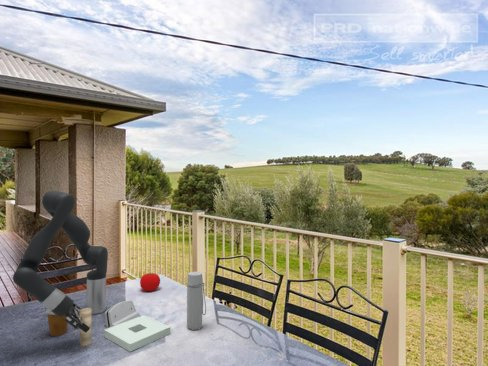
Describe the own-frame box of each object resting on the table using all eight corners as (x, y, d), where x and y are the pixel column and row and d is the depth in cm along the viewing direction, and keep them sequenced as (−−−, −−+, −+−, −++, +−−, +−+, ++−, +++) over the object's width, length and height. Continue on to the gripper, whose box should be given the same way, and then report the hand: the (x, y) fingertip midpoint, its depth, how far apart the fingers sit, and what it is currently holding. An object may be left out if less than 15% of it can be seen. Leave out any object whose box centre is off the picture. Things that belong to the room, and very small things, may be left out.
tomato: (136, 292, 198) (136, 275, 198) (145, 286, 210) (145, 270, 210) (154, 293, 196) (154, 276, 196) (162, 287, 208) (162, 271, 208)
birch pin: (77, 344, 136) (77, 310, 136) (88, 340, 139) (88, 307, 139) (82, 347, 133) (82, 313, 133) (93, 343, 136) (93, 309, 136)
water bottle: (189, 332, 147) (189, 276, 147) (184, 325, 154) (184, 272, 153) (208, 328, 151) (209, 274, 151) (202, 321, 158) (203, 269, 158)
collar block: (104, 336, 142) (104, 329, 142) (143, 321, 158) (143, 315, 158) (130, 351, 130) (130, 344, 130) (170, 333, 145) (170, 326, 145)
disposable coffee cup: (75, 329, 149) (75, 303, 148) (57, 339, 140) (57, 311, 139) (59, 326, 152) (59, 300, 152) (40, 335, 143) (40, 308, 143)
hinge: (114, 330, 149) (108, 308, 150) (107, 331, 150) (101, 310, 152) (139, 316, 164) (134, 296, 165) (133, 317, 166) (127, 298, 167)
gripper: (62, 300, 127) (95, 325, 131) (67, 289, 140) (97, 312, 144) (46, 316, 125) (80, 341, 129) (53, 303, 138) (83, 326, 142)
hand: (89, 326), depth 136 cm, fingers open, 8 cm apart
